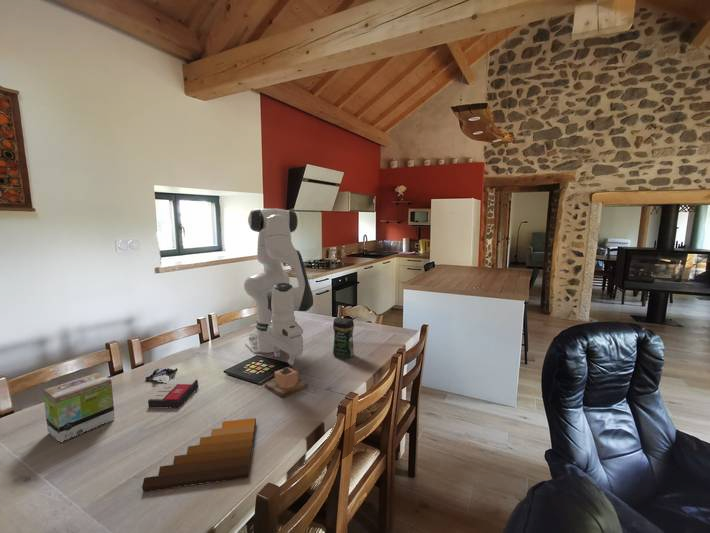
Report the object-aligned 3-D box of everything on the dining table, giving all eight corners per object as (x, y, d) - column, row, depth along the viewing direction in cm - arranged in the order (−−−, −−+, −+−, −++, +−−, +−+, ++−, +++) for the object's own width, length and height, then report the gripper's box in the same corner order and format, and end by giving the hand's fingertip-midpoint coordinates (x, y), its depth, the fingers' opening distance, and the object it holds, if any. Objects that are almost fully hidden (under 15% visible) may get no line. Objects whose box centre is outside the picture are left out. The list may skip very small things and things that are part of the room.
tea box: (60, 444, 105) (54, 398, 103) (47, 433, 110) (41, 389, 108) (116, 419, 118) (111, 378, 116) (102, 411, 123) (97, 370, 121)
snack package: (146, 390, 138) (179, 381, 144) (144, 373, 138) (177, 366, 144) (146, 382, 149) (177, 375, 155) (144, 367, 149) (175, 360, 155)
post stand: (264, 386, 140) (264, 367, 139) (290, 376, 148) (289, 358, 147) (282, 397, 132) (281, 377, 130) (308, 386, 140) (307, 367, 139)
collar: (274, 382, 140) (274, 371, 139) (288, 377, 144) (288, 366, 144) (284, 388, 135) (283, 377, 135) (297, 382, 140) (297, 371, 139)
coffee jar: (330, 356, 169) (330, 319, 166) (339, 351, 176) (338, 314, 173) (348, 360, 165) (348, 322, 162) (356, 354, 171) (356, 317, 169)
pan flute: (142, 495, 87) (248, 480, 92) (141, 483, 87) (247, 468, 91) (173, 433, 111) (256, 424, 116) (172, 423, 111) (255, 415, 115)
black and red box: (147, 399, 125) (170, 377, 139) (148, 410, 125) (171, 387, 140) (177, 399, 124) (197, 377, 139) (179, 410, 125) (198, 387, 140)
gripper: (262, 321, 141) (262, 353, 144) (291, 334, 127) (292, 371, 129) (275, 317, 146) (276, 349, 148) (306, 330, 131) (306, 365, 134)
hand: (283, 359), depth 139 cm, fingers open, 8 cm apart
